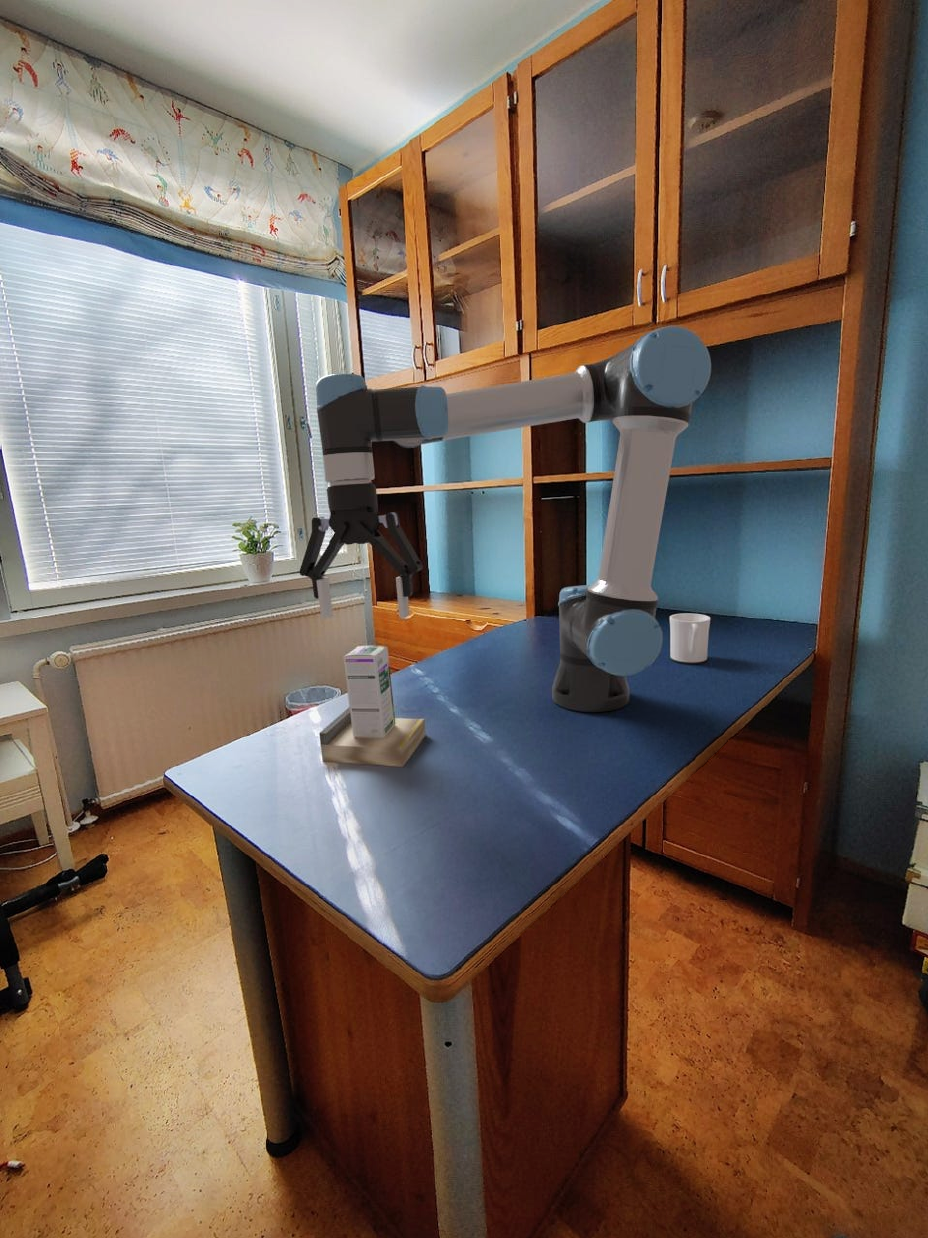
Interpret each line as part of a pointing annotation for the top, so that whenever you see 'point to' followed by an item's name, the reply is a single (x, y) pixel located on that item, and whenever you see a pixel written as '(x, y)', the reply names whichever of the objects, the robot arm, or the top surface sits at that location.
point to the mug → (689, 638)
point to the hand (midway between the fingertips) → (365, 617)
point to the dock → (371, 742)
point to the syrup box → (369, 691)
